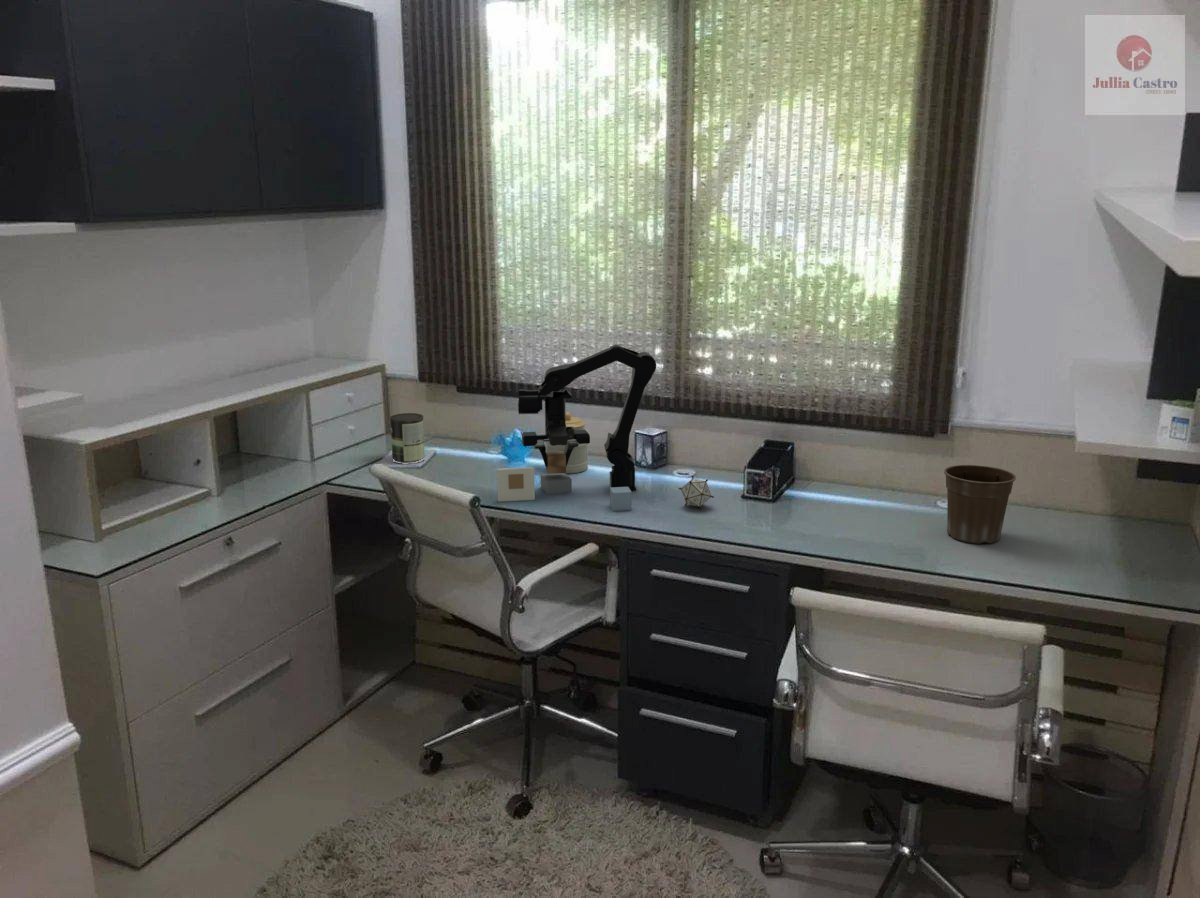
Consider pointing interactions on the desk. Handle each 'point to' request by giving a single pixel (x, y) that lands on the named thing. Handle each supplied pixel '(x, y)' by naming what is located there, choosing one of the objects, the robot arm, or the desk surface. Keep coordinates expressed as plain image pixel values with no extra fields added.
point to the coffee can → (407, 437)
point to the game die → (696, 492)
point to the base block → (556, 483)
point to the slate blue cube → (620, 498)
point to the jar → (580, 453)
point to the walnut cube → (556, 462)
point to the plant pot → (977, 502)
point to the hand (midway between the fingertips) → (556, 467)
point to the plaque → (515, 484)
